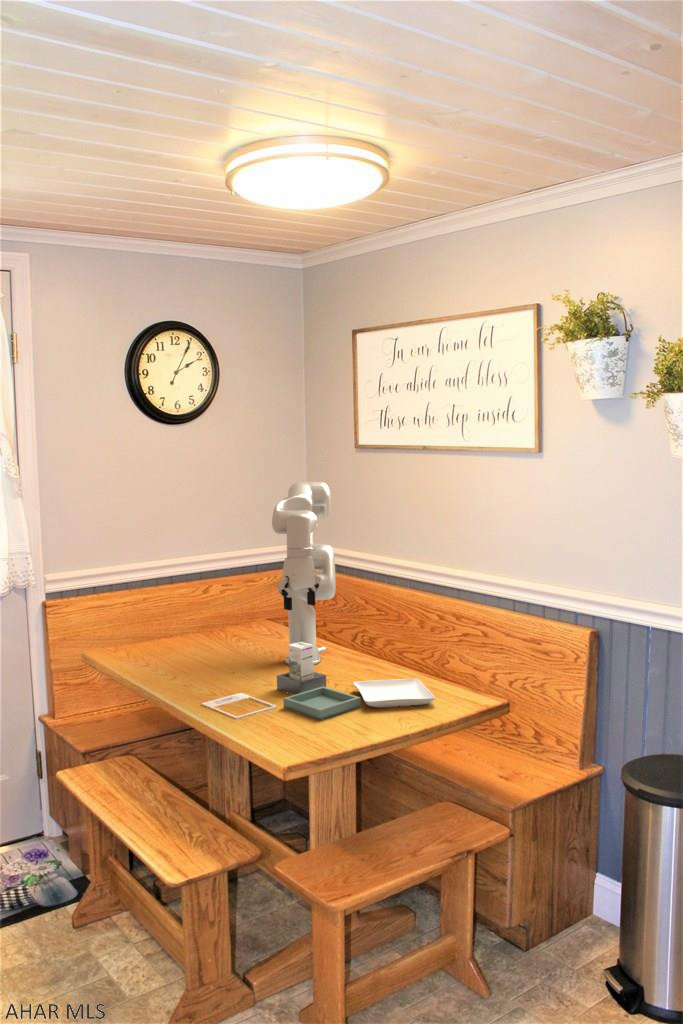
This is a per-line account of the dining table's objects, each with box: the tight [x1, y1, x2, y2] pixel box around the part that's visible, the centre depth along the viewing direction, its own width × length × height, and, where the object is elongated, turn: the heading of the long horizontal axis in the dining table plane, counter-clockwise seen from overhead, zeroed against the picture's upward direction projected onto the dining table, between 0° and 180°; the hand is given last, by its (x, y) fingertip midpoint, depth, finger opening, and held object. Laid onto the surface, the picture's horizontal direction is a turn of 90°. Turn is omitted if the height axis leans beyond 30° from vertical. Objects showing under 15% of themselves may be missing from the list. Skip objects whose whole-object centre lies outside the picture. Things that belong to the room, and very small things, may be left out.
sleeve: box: [276, 671, 327, 695], centre depth 270 cm, size 11×11×4 cm
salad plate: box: [352, 677, 436, 709], centre depth 260 cm, size 21×21×3 cm
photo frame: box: [200, 692, 278, 720], centre depth 254 cm, size 15×1×18 cm
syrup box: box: [288, 642, 314, 681], centre depth 269 cm, size 6×6×14 cm
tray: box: [283, 686, 362, 722], centre depth 251 cm, size 16×16×3 cm
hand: (299, 607), depth 267 cm, fingers open, 9 cm apart
